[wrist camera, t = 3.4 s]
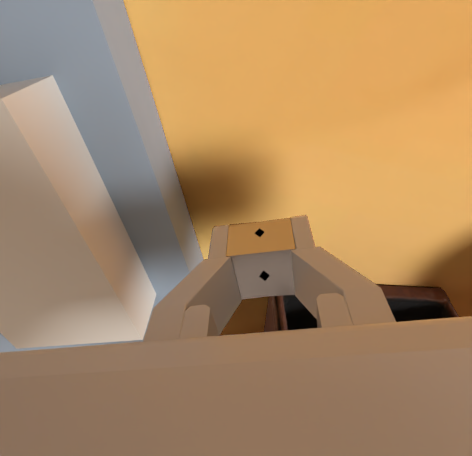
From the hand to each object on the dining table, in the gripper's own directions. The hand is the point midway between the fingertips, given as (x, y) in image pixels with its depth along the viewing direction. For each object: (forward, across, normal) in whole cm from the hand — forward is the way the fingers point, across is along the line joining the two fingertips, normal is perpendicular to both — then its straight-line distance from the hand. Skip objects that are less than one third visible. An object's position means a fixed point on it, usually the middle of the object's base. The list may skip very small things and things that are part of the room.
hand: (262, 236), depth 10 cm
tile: (+2, +9, 0) cm, 9 cm away
